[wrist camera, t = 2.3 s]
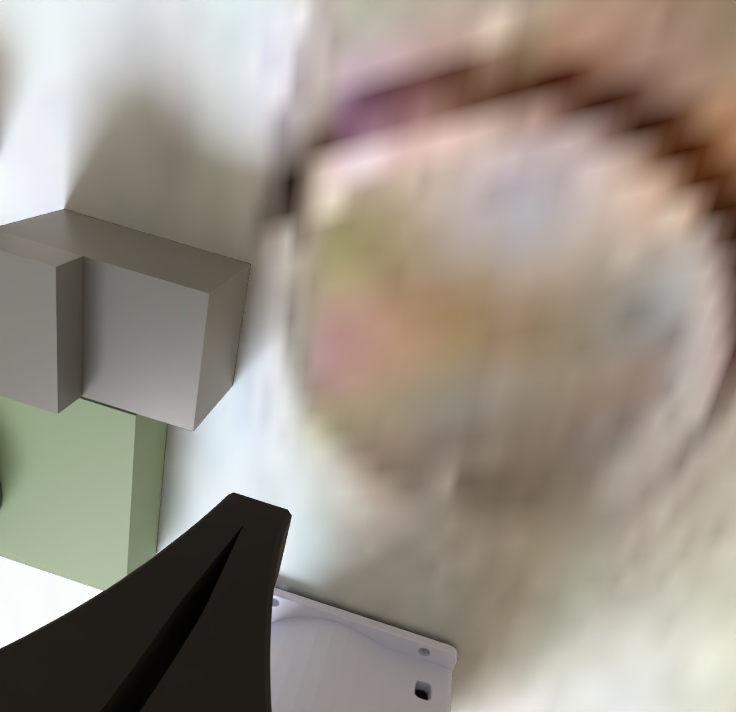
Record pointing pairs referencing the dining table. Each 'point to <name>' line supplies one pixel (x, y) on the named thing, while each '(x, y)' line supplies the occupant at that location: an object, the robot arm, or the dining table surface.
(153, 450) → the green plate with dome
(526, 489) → the dining table surface
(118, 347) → the grey stepped block
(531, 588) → the dining table surface
